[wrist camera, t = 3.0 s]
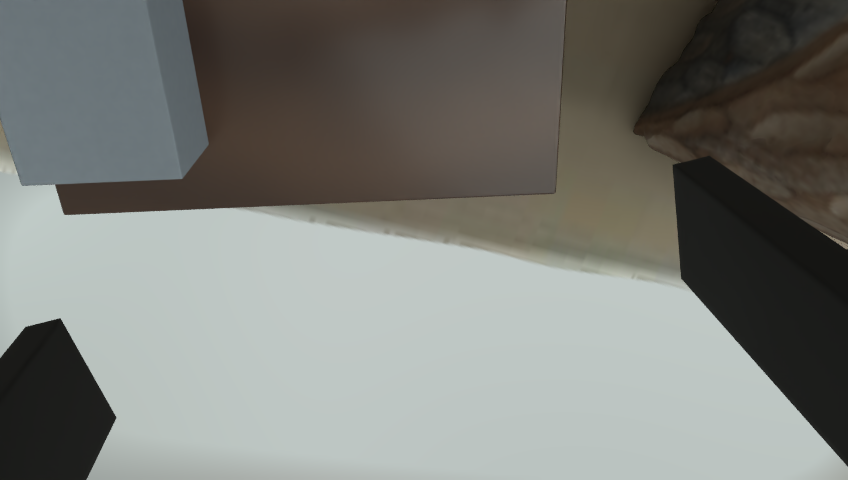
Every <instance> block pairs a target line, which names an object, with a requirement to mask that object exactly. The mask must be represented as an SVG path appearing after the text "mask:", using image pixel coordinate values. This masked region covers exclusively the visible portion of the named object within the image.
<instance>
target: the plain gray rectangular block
mask: <svg viewBox="0 0 848 480" xmlns="http://www.w3.org/2000/svg"><path fill="white" fill-rule="evenodd" d="M0 120H1V123H2V126H3V129H4V132H5V135H6V139H7V142H8V145H9V148H10V151H11V154H12V157H13V160H14V163H15V166H16V170H17V173H18V176H19V179H20V182H21V184H22V186H28V185H52V184H76V183H99V182H122V181H146V180H169V179H183V177H184V176H185V175H186V173H187V172H188V171H189V170H190V168H191V167H192V166H193V164H194V163H195V162H196V160H197V159H198V158H199V157H200V155H201V154H202V153H203V151H204V150H205V149H206V148H207V146H208V145H209V142H208V137H207V131H206V126H205V121H204V115H203V110H202V104H201V99H200V93H199V88H198V83H197V77H196V72H195V66H194V61H193V55H192V50H191V45H190V39H189V34H188V28H187V23H186V17H185V12H184V7H183V1H182V0H0Z"/></svg>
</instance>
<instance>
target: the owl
mask: <svg viewBox="0 0 848 480" xmlns="http://www.w3.org/2000/svg"><path fill="white" fill-rule="evenodd" d="M633 132H634V134H636V135H641V136H644V137H645V140H646V142H647V144H648V146H649V147H651V148H652V149H654V150H656V151H658V152H660V153H662V154H664V155H666V156H668V157H670V158H672V159H674V160H676V161H679V162H681V163H682V162H686V161H690V160H694V159H698V158H702V157H706V156H711V157H712V158H714V159H715V160H716V161H718V162H719V163H721V164H722V165H724V166H725V167H727V168H728V169H730V170H731V171H732V172H734V173H735V174H737V175H738V176H740V177H741V178H743V179H744V180H746V181H747V182H748V183H750V184H751V185H753V186H754V187H756V188H757V189H759V190H760V191H762V192H763V193H764V194H766V195H767V196H769V197H770V198H772V199H773V200H775V201H776V202H778V203H779V204H781V205H782V206H783V207H785V208H786V209H788V210H789V211H791V212H792V213H794V214H795V215H797V216H798V217H799V218H801V219H802V220H804V221H805V222H807V223H808V224H810V225H811V226H813V227H814V228H815V229H817V230H819V231H821V232H823V233H825V234H827V235H829V236H832V237H834V238H836V239H838V240H840V241H843V242H845V243H847V244H848V0H719V2H718V4H717V5H716V7H715V9H714V10H713V12H712V13H711V14H709V15H706V16H705V17H704V18H702V19H701V20H700V22H699V24H698V26H697V29H696V32H695V35H694V38H693V39H692V41H691V42H690V43H689V44H688V45H687V46H686V48H685V49H684V51H683V53H682V55H681V57H680V60H679V61H678V62H677V63H676V64H675V65H674V66H673V67H672V68H670V69H669V70H667V71H666V72H665V73H664V75H663V76H662V77H661V79H660V80H659V82H658V83H657V85H656V87H655V90H654V92H653V94H652V98H651V100H650V103H649V106H647V107H646V109H645V111H644V112H643V113H642V115H641V116H640V119H639V121H638V122H637V123H636V125H635V128H634V131H633Z"/></svg>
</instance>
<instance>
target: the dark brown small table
mask: <svg viewBox="0 0 848 480" xmlns="http://www.w3.org/2000/svg"><path fill="white" fill-rule="evenodd" d="M182 1H183V7H184V12H185V17H186V23H187V28H188V34H189V39H190V45H191V50H192V55H193V61H194V66H195V72H196V77H197V83H198V88H199V93H200V99H201V104H202V110H203V115H204V121H205V126H206V131H207V137H208V142H209V145H208V146H207V148H206V149H205V150H204V151H203V153H202V154H201V155H200V157H199V158H198V159H197V160H196V162H195V163H194V164H193V166H192V167H191V168H190V170H189V171H188V172H187V173H186V175H185V176H184V177H183V179H169V180H146V181H122V182H99V183H76V184H55V186H56V189H57V193H58V196H59V199H60V203H61V206H62V209H63V213H64V214H65V215H76V214H99V213H122V212H144V211H167V210H191V209H214V208H237V207H259V206H282V205H305V204H328V203H351V202H374V201H397V200H420V199H443V198H466V197H488V196H511V195H534V194H554V193H555V192H556V179H557V162H558V145H559V127H560V110H561V93H562V76H563V58H564V41H565V24H566V7H567V0H182Z"/></svg>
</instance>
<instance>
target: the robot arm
mask: <svg viewBox="0 0 848 480" xmlns="http://www.w3.org/2000/svg"><path fill="white" fill-rule="evenodd" d="M673 175H674V189H675V202H676V215H677V228H678V242H679V255H680V268H681V279H682V280H683V281H684V282H685V283H686V284H687V285H688V287H689V288H690V289H691V290H692V291H693V292H694V293H695V295H696V296H697V297H698V298H699V299H700V300H701V301H702V302H703V303H704V305H705V306H706V307H707V308H708V309H709V310H710V311H711V312H712V314H713V315H714V316H715V317H716V318H717V319H718V320H719V322H720V323H721V324H722V325H723V326H724V327H725V328H726V329H727V330H728V332H729V333H730V334H731V335H732V336H733V337H734V339H735V340H736V341H737V342H738V343H739V344H740V345H741V346H742V348H743V349H744V350H745V351H746V352H747V353H748V354H749V355H750V356H751V358H752V359H753V360H754V361H755V362H756V363H757V364H758V366H759V367H760V368H761V369H762V370H763V371H764V372H765V373H766V375H767V376H768V377H769V378H770V379H771V380H772V381H773V383H774V384H775V385H776V386H777V387H778V388H779V389H780V390H781V392H782V393H783V394H784V395H785V396H786V397H787V398H788V400H790V402H791V403H792V404H793V405H794V406H795V407H796V409H797V410H798V411H799V412H800V413H801V414H802V415H803V416H804V418H806V420H807V421H808V422H809V423H810V424H811V425H812V427H813V428H814V429H815V430H816V431H817V432H818V433H819V435H820V436H821V437H822V438H823V439H824V440H825V441H826V442H827V444H828V445H829V446H830V447H831V448H832V449H833V450H834V451H835V453H836V454H837V455H838V456H839V457H840V458H841V459H842V460H843V461H844V463H845V464H846V465H847V466H848V249H847V250H846V249H845V248H843V247H842V246H840V245H839V244H837V243H836V242H834V241H833V240H831V239H830V238H829V237H827V236H826V235H824V234H823V233H821V232H820V231H818V230H817V229H815V228H814V227H813V226H811V225H810V224H808V223H807V222H805V221H804V220H802V219H801V218H799V217H798V216H797V215H795V214H794V213H792V212H791V211H789V210H788V209H786V208H785V207H783V206H782V205H781V204H779V203H778V202H776V201H775V200H773V199H772V198H770V197H769V196H767V195H766V194H764V193H763V192H762V191H760V190H759V189H757V188H756V187H754V186H753V185H751V184H750V183H748V182H747V181H746V180H744V179H743V178H741V177H740V176H738V175H737V174H735V173H734V172H732V171H731V170H730V169H728V168H727V167H725V166H724V165H722V164H721V163H719V162H718V161H716V160H715V159H714V158H712V157H711V156H706V157H702V158H698V159H694V160H690V161H686V162H682V163H678V164H674V165H673ZM115 419H116V416H115V414H114V413H113V411H112V409H111V407H110V406H109V404H108V402H107V400H106V398H105V397H104V395H103V393H102V391H101V389H100V388H99V386H98V384H97V383H96V381H95V379H94V377H93V375H92V373H91V372H90V370H89V368H88V366H87V365H86V363H85V361H84V359H83V358H82V356H81V354H80V352H79V350H78V349H77V347H76V345H75V343H74V342H73V340H72V338H71V336H70V334H69V333H68V331H67V329H66V327H65V326H64V324H63V322H62V320H61V319H56V320H52V321H48V322H44V323H40V324H36V325H32V326H28V327H25V328H24V330H23V331H22V332H21V333H20V335H19V336H18V337H17V338H16V339H15V341H14V342H13V343H12V344H11V346H10V347H9V348H8V349H7V351H6V352H5V353H4V354H3V355H2V357H1V358H0V480H86V479H87V477H88V475H89V473H90V471H91V469H92V467H93V465H94V463H95V461H96V459H97V457H98V455H99V453H100V450H101V448H102V446H103V444H104V442H105V440H106V438H107V436H108V434H109V432H110V430H111V428H112V426H113V423H114V422H115Z"/></svg>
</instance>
